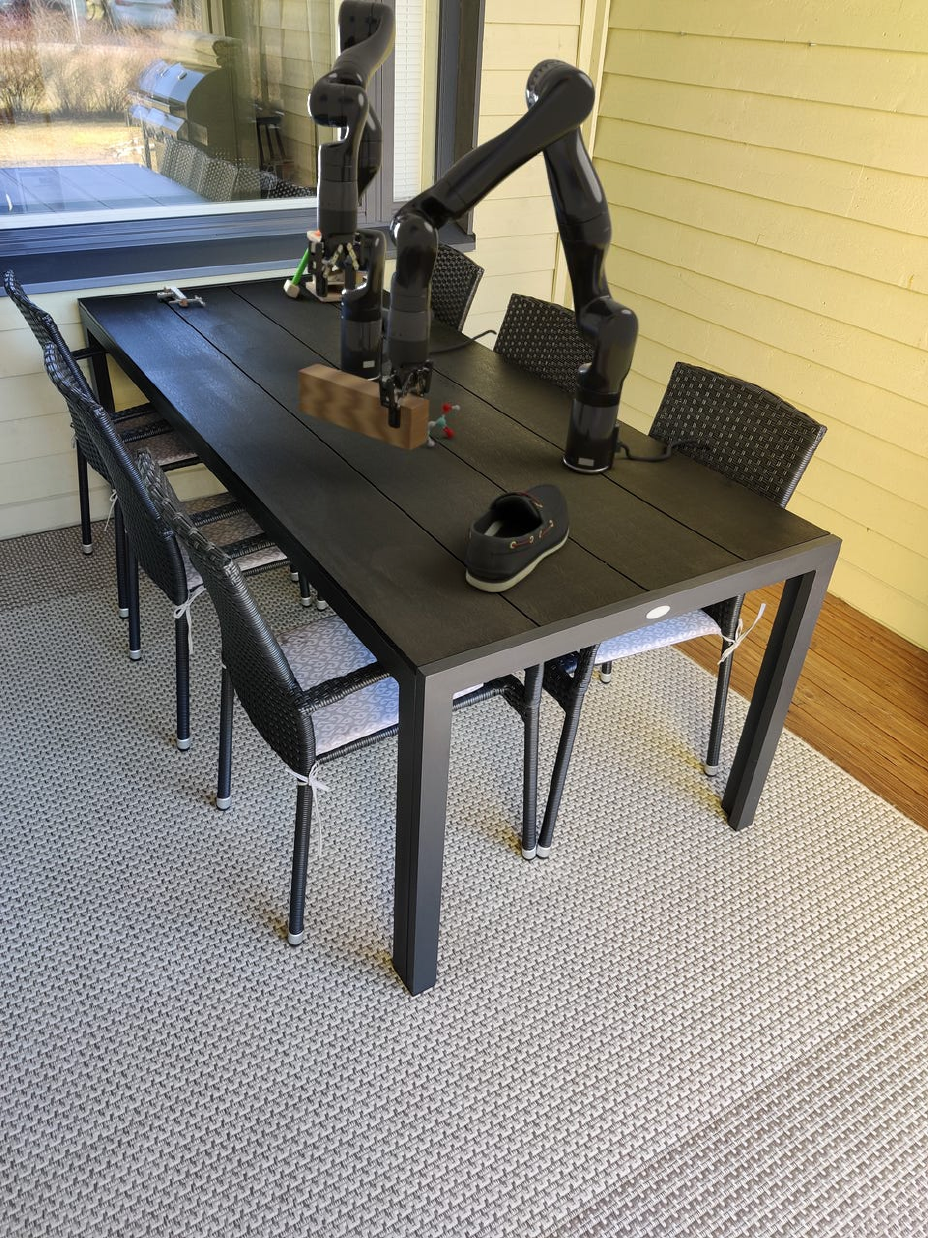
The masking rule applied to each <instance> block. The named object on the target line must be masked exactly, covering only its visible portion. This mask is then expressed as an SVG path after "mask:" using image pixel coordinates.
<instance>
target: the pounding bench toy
mask: <svg viewBox="0 0 928 1238" xmlns="http://www.w3.org/2000/svg"><path fill="white" fill-rule="evenodd" d="M306 237H307V239H309V241H310V240H311V241H315V242H319V241H320V239H321V233H320V231H319V230H318V229H317V230H307V231H306ZM324 260H327V259H326V258H325V257H324ZM334 266H335V267H336V269H334V270H333V268H331V269H330V271H329V273H328V276H327V278H328V296H327V297H325V298H322V297H319V296H317V294H316V277H315V275H312V281H307V282H306V281H305V288H306V289H307V291H309V292H310V293H311V294H312V295H314V296H315V298H318V299H319V301H321V302H323V303H327V302H329V303H330V302H341V296H342V290H343V289H344V288H345V286H344V284H345V270H341V269H339V268H338V266H337V264H336V263H335V265H334ZM307 267H308V248H306V251H305V253H304V255H303V257H302V259H301V261H300V263H299V265H298V267H297V269H296V271H295V273H294V275H293V278H292V280H290V279H287V280H286V281H285V283H284V285H283V289H284V290H285V292H286V294H287V296H289V297H291V298H297V296H298V295H299V292H300V287H299V285H298V284H299V282H300V280H301V278H302V276H303V275H304V272H305V270H306V268H307ZM315 267H316V263H315V262H314V268H315ZM324 267H325V266H323V267H322V271H323V270H324ZM364 277H367V274H365V273H359V272H356V284H358V283H362V282H364Z"/></svg>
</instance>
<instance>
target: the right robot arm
mask: <svg viewBox="0 0 928 1238" xmlns="http://www.w3.org/2000/svg"><path fill="white" fill-rule="evenodd" d="M524 92H525V104H526V107H527V111H526V112H525V113H524V114H523V115H522V116H521V117H520V118H519V119H518V120H517V121H516V122H515V123H513V124H512V125H511V126H509V127H508V128H507V129H505V130H504V131H502V132H501V133H499V134H498V135H496V136H494V137H492V138H490V139H489V140H488V141H485V142H484V143H482V144H480V145H478V146H477V147H474V148H473V149H472V150H470V151H469V152H468V153H466V154H465V155H463V156H462V157H461V158H460V159H458V160H457V162H456V163H454V164H453V165H452V166H451V167H450V168H449V169H448V170H447V171H446V172H445V173H444V174H443V175H442V176H440V177H439V179H437V180H436V182H435V183H434V184H433V185H431V186H430V187H428V188H426V189H425V190H423V191H421V192H420V193H419V194H417V195H415V196H414V197H413V198H411V199H410V200H409V201H408V202H406V203H405V204H404V205H402V206H401V207H400V208H399V209H397V211H396V213H395V214H394V215H393V217H392V218H391V220H390V222H389V226H388V235H389V237H390V238H389V239H390V240H391V242H392V244H393V245H394V247H396V249H395V250H396V257H395V258H396V260H395V271H394V272H393V273H392V274H391V278H390V285H389V306H388V310H389V313H388V323H387V333H386V355H387V357H388V361H390V368H389V371H388V374H386V375H385V376H384V375H382V374H381V375H380V376H379V379H378V380H377V382H378V384H379V393H380V404H381V406H383V407H386V408H388V424H389V426H390V427H392V428H395V429H398V428H399V427H400V419H401V409H400V408H401V405H402V402H403V399H404V398H406V396H407V393H409V394H412V395H415V396H418V397H421V398H424V397H425V394H429V393H430V390H431V389H430V388H431V384H432V378H433V372H434V365H435V363H434V361H432V360H430V359H429V357H430V354H429V351H430V342H431V341H430V340H431V326H432V325H431V323H432V322H431V317H430V308H431V300H432V299H431V298H432V280H433V275H434V272H435V268H436V262H437V259H438V258H437V257H438V249H439V235H438V231H439V230H440V229H441V228H443V227H444V226H445V225H447V224H448V223H449V222H458V221H460V220H462V219H463V218H464V217H466V216H467V215H468V214H469V213H470V212H471V211H472V210H474V208H476V207H477V206H478V205H479V204H480V203H481V202H482V201H483V200H484V199H485V198H486V197H487V196H489V194H491V193H492V192H493V191H494V190H495V189H497V187H498V186H499V185H500V184H502V183H503V182H504V181H505V180H507V179H508V178H509V177H510V176H511V175H513V174H514V173H515V172H516V171H518V170H519V169H521V167H523V166H524V165H526V164H527V163H528V162H530V161H531V160H533V159H534V158H536V156H538V155H540V154H541V153H542V156H543V160H544V165H545V171H546V175H547V181H548V186H549V192H550V196H551V200H552V206H553V210H554V216H555V221H556V225H557V230H558V235H559V238H560V241H561V245H562V249H563V253H564V259H565V263H566V267H567V272H568V276H569V279H570V284H571V285H570V286H571V293H572V301H573V311H574V318H575V325H576V329H577V332H578V334H579V337H580V338H581V339H582V340H583V341H584V342H585V343H586V344H588V345H590V346H591V347H593V348H594V350H593V355H592V360H591V362H587V363H584V364H581V365H580V366H579V367H578V368H577V371H576V378H575V383H574V391H573V397H572V403H571V410H570V414H569V415H570V417H569V421H568V422H569V423H568V428H567V437H566V442H565V448H564V454H563V457H562V462H563V465H564V466H565V467H566V468H568V469H570V470H571V471H575V472H577V473H581V474H588V475H594V474H595V475H596V474H602V473H604V472H606V471H608V470H610V469H611V470H612V469H613V466H614V459H615V454H619V453H621V451H622V449H624V450H625V451H624V452H625V456H626V458H628V459H630V460H632V461H637V462H638V461H640V462H648V463H653V462H659V461H663V460H666V459H668V458H669V457H670V456H671V454H672V448H673V447H675V446H680V445H686V444H697V442H698V440H699V439H698V440H697V438H688V439H687V438H686V439H681V440H676V441H671V442H669V444H667V446H666V453H665V454H662V455H659V456H653V457H640V456H636V455H633V454H631V450H630V447H629V446H628V445H627V444H626V443H624V442H623V441H622V440H621V439H619V433H620V424H619V423H618V422H617V421H618V414H619V410H620V403H621V398H622V393H623V387H624V383H625V380H626V379H627V377H628V375H629V373H630V371H631V369H632V368H631V367H632V363H633V359H634V355H635V350H636V347H637V342H638V338H639V337H638V336H639V330H640V323H639V318H638V315H637V313H636V312H635V311H634V310H633V309H632V308H630V307H628V306H627V305H624V304H622V303H620V302H618V301H617V300H615V299H614V297H613V295H612V293H611V291H610V287H609V282H608V278H607V271H606V262H607V258H608V254H609V251H610V248H611V244H612V239H613V226H612V219H611V214H610V209H609V208H610V207H609V203H608V199H607V194H606V192H605V188H604V186H603V183H602V180H601V178H600V176H599V173H598V171H597V169H596V167H595V166H594V163H593V160H592V159H591V157H590V155H589V152H588V150H587V147H586V145H585V141H584V138H583V133H582V127H581V126H582V125H583V123H585V121H587V119H588V118H589V117H590V115H591V113H592V111H593V110H594V106H595V104H596V103H595V101H596V89H595V85H594V82H593V81H592V79H591V78H590V76H589V75H588V74H587V73H586V72H585V71H583V70H581V69H580V68H578V67H576V66H574V65H572V64H570V63H568V62H566V61H564V60H561V59H557V58H547V59H543V60H541V61H539V62H538V63H537V64H536V65H535V66H534V67H533V68H532V70H531V71H530V73H529V75H528V77H527V80H526V84H525V90H524ZM395 389H397V390H400V391H401V392H398V391H396V390H395ZM395 395H397V396H398V398H397V402H395ZM386 397H388V400H386ZM700 445H702V444H700ZM702 446H704V447H705V448H706V449H707V450H709V451H711V450H713V449H714V448H713V447H712V446H711V447H710V446H708V445H702Z"/></svg>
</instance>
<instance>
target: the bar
mask: <svg viewBox="0 0 928 1238" xmlns="http://www.w3.org/2000/svg"><path fill="white" fill-rule="evenodd" d="M395 390H396V391H398V392H401V391H402V390H401V389H398V388H395ZM397 398H398V396H397V395H395V402H397ZM386 400H388V397H386ZM430 401H431V400H429V399H428V398H424V397H423V398H421V397H418V396H415V395H412V394H409V392H408V393H407V396H406V398H404V399H403V402H402V405H401V408H400V409H401V419H400V427H399V428H398V429H395V428H392V427H390V426H389V424H388V408H386V407H383V406H381V404H380V393H379V382H376V381H373V382H372V381H369V380H366V379H363V378H360V377H357V376H354V375H351V374H348V373H345V372H342V371H340V369H339V370H338V369H335V368H332V367H330V366H326V365H323V364H320V363H315V364H312V365H310V366H307V367H305V368H302V369H299V370H298V412H301V413H303V414H306V415H309V416H311V417H314V418H317V419H319V420H322V421H325V422H328V423H331V424H334V425H337V426H339V427H342V428H345V429H348V430H350V431H354V432H356V433H358V434H361V435H365V436H368V437H370V438H373V439H375V440H378V441H381V442H383V443H386V444H390V445H392V446H395V447H397V448H401V449H403V450H406V451H409V452H410V451H412V450H414V449H416V448H417V447H420V446H421V445H423V444H425V443H427V442H428V439H427V434H428V422H429V417H430V416H429V415H430Z"/></svg>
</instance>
